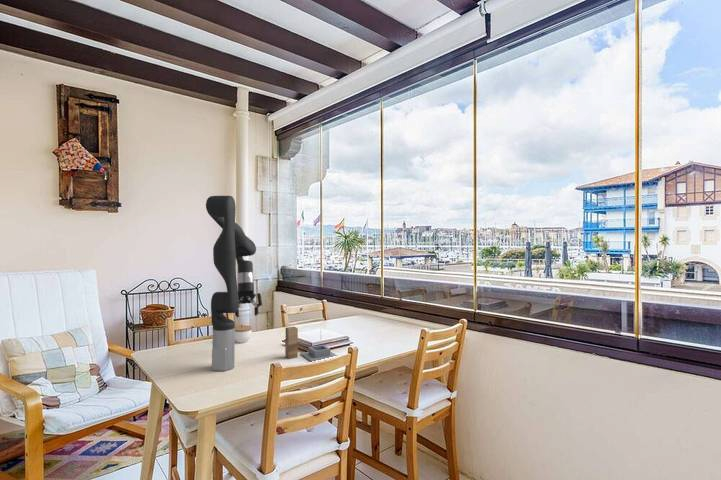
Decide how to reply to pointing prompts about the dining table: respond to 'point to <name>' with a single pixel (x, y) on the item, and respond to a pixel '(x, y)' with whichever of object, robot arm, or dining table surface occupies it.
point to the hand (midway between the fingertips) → (246, 316)
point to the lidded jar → (242, 333)
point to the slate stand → (317, 353)
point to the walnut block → (291, 342)
